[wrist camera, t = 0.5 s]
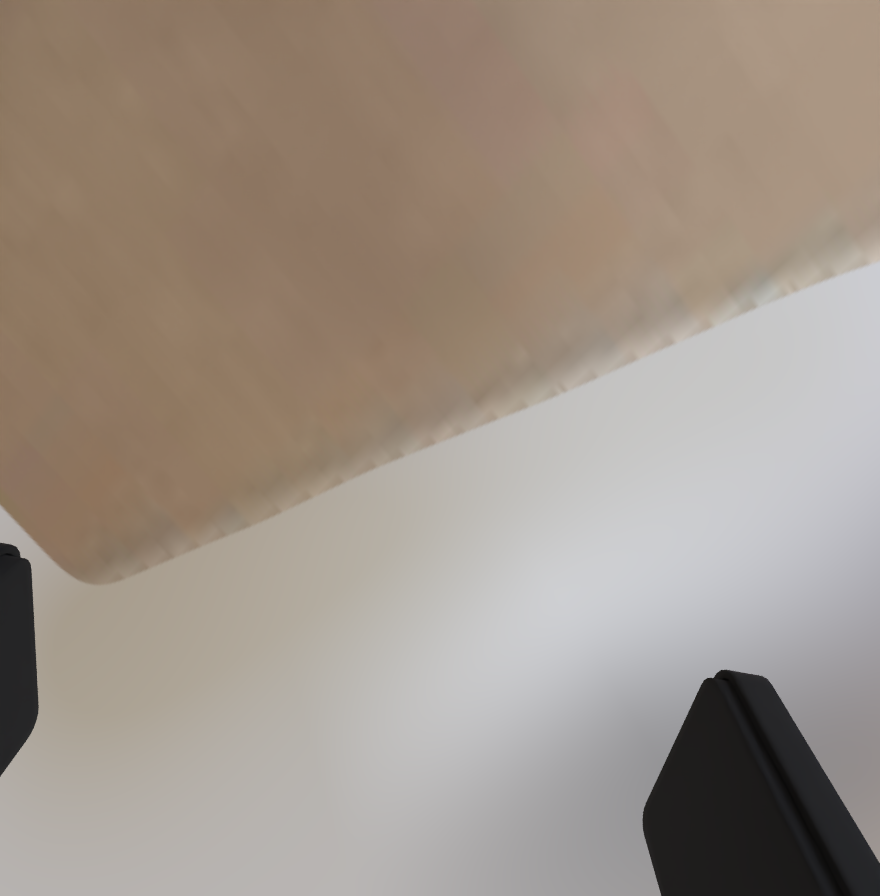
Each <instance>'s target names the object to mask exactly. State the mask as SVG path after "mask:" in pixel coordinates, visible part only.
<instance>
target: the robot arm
mask: <svg viewBox="0 0 880 896" xmlns="http://www.w3.org/2000/svg"><path fill="white" fill-rule="evenodd" d="M35 651H36V650H35V631H34V612H33V592H32V573H31V565H30V562H29V561H28V560H27V559H25V558H21V557H20V552H19V550H18V549H17V547H15V546H13V545H10V544H4V543H0V776H1V774H2V773H3V772H4V771H5V769H6V768H7V766H8V765H9V764H10V762H11V761H12V759H13V758H14V757H15V755H16V754H17V752H18V751H19V750H20V748H21V747H22V746H23V744H24V743H25V742H26V740H27V739H28V737H29V735H30V734H31V732H32V730H33V728H34V725H35V723H36V720H37V715H38V688H37V669H36V652H35ZM643 831H644V836H645V839H646V843H647V846H648V850H649V854H650V857H651V860H652V864H653V868H654V871H655V875H656V878H657V882H658V885H659V889H660V892H661V896H880V863H879V862H878V860H877V859H876V857H875V855H874V853H873V852H872V850H871V848H870V847H869V845H868V843H867V842H866V840H865V838H864V837H863V835H862V833H861V832H860V830H859V829H858V827H857V825H856V823H855V822H854V820H853V819H852V817H851V815H850V813H849V812H848V810H847V808H846V807H845V805H844V804H843V802H842V800H841V799H840V797H839V795H838V794H837V792H836V790H835V789H834V787H833V785H832V784H831V782H830V780H829V779H828V777H827V775H826V774H825V772H824V770H823V769H822V768H821V766H820V764H819V762H818V760H817V759H816V757H815V755H814V754H813V752H812V751H811V749H810V747H809V746H808V744H807V742H806V741H805V739H804V737H803V736H802V734H801V732H800V731H799V729H798V727H797V726H796V724H795V722H794V721H793V719H792V717H791V716H790V714H789V712H788V711H787V709H786V708H785V706H784V704H783V703H782V701H781V699H780V698H779V696H778V694H777V693H776V691H775V689H774V688H773V686H772V684H771V683H770V682H769V681H768V679H766V678H764V677H763V676H759V675H753V674H747V673H741V672H735V671H730V670H721V671H719V672H718V673H717V674H716V675H715V677H714V678H707V679H706V680H704V682H703V683H702V685H701V687H700V689H699V691H698V693H697V695H696V697H695V700H694V702H693V704H692V706H691V708H690V710H689V712H688V715H687V717H686V719H685V721H684V723H683V725H682V728H681V730H680V732H679V734H678V736H677V738H676V740H675V743H674V744H673V747H672V749H671V751H670V753H669V756H668V757H667V759H666V762H665V764H664V766H663V768H662V770H661V772H660V774H659V777H658V779H657V781H656V783H655V785H654V787H653V790H652V792H651V794H650V796H649V798H648V800H647V802H646V805H645V807H644V812H643Z"/></svg>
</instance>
